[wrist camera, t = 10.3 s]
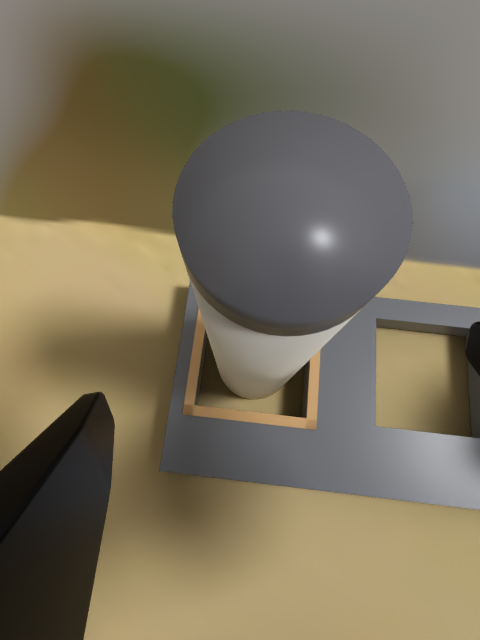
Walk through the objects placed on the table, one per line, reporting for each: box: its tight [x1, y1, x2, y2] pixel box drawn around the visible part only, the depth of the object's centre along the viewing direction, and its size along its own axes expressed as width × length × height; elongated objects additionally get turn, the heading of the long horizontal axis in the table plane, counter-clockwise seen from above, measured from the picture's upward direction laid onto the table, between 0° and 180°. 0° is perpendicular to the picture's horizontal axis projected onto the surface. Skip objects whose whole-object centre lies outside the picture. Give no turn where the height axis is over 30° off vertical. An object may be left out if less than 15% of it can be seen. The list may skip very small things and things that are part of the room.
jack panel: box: [159, 282, 480, 510], centre depth 19 cm, size 10×17×2 cm, turn 84°
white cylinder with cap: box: [173, 111, 413, 399], centre depth 13 cm, size 4×4×15 cm
